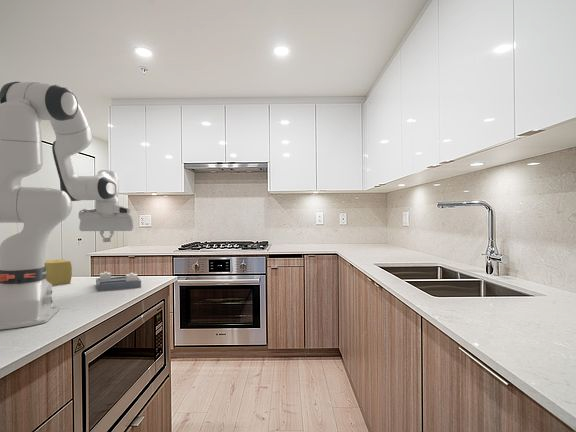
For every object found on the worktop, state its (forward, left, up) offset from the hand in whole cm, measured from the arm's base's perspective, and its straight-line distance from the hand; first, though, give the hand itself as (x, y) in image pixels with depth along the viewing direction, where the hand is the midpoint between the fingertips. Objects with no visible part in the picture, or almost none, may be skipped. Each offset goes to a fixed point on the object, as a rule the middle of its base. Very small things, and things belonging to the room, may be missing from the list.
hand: (106, 242), depth 148 cm
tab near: (-6, -9, -17) cm, 20 cm away
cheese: (+17, +19, -19) cm, 32 cm away
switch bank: (-2, -4, -19) cm, 19 cm away
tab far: (+2, 0, -17) cm, 17 cm away
